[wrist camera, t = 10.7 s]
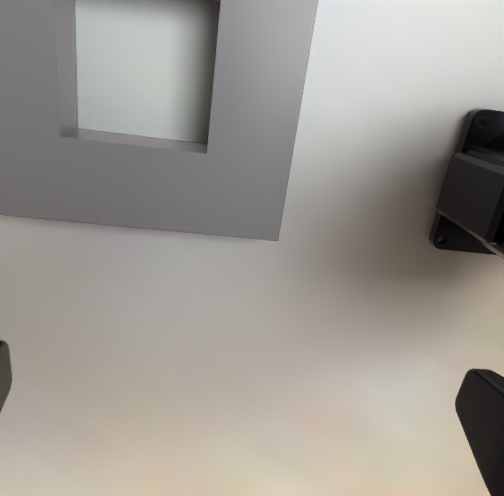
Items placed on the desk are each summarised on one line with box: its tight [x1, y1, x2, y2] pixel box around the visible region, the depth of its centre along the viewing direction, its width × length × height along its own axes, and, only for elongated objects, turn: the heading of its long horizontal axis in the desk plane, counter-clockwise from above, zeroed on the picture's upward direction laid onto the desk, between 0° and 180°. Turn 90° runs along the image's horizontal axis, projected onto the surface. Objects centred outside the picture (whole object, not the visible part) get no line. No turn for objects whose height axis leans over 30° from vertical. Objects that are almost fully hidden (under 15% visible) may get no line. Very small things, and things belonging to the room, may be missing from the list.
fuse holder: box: [0, 0, 318, 241], centre depth 16 cm, size 12×12×2 cm
